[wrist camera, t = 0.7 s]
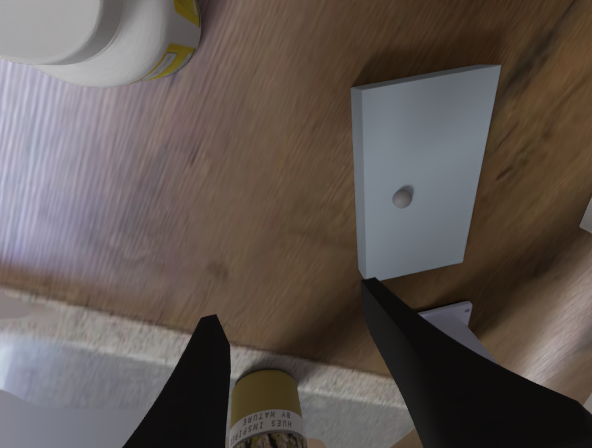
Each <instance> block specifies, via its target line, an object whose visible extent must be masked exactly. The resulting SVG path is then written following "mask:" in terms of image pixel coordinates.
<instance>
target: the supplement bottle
mask: <svg viewBox="0 0 592 448" xmlns="http://www.w3.org/2000/svg"><path fill="white" fill-rule="evenodd" d="M200 35H201V16H200V10H199V5H198V2H197V0H0V59H3V60H7V61H10V62H15V63H21V64H28V65H31V66H32V67H34V68H36V69H38V70H39V71H41V72H43V73H45V74H47V75H49V76H52V77H54V78H56V79H59V80H62V81H65V82H68V83H72V84H75V85H80V86H85V87H94V88H109V87H118V86H124V85H128V84H133V83H138V82H143V81H148V80H152V79H157V78H162V77H166V76H169V75H172V74H174V73H176V72H178V71H179V70H181V69H182V68H183V67H185V66H186V65H187V64H188V63H189V62H190V60H191V59H192V57H193V56H194V54H195V52H196V50H197V47H198V44H199V41H200Z"/></svg>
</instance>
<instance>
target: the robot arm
mask: <svg viewBox="0 0 592 448" xmlns="http://www.w3.org/2000/svg"><path fill="white" fill-rule="evenodd" d="M361 291H362V309H363V316H364V318H365V321H366V323H367V326H368V329H369V331H370V334H371V336H372V338H373V340H374V342H375V344H376V346H377V348H378V350H379V352H380V354H381V355H382V357H383V359H384V361H385V363H386V365H387V367H388V369H389V371H390V373H391V375H392V376H393V378H394V380H395V382H396V384H397V386H398V388H399V390H400V392H401V394H402V396H403V399H404V401H405V403H406V406H407V408H408V411H409V413H410V415H411V418H412V420H413V422H414V425H415V427H416V430H417V432H418V435H419V437H420V440H421V442H422V445H423V447H424V448H592V414H591V413H590V412H589V411H587V410H586V409H585V408H584V407H583V406H582V405H581V404H580V403H579V402H578V401H576V400H574V399H571V398H569V397H567V396H564V395H562V394H560V393H557V392H555V391H553V390H550V389H548V388H546V387H543V386H541V385H539V384H536V383H534V382H532V381H530V380H528V379H526V378H524V377H522V376H520V375H517V374H515V373H513V372H511V371H509V370H507V369H505V368H504V367H502V366H500V365H499V364H498V362H497V361H496V360H495V359H494V358H493V356H492V355H491V354H490V353H489V352H488V351H487V349H486V348H485V347H484V346H483V345H482V343H481V342H480V341H479V340H478V339H477V337H476V336H475V335H474V334H473V333H472V331H471V330H470V329H469V328H468V323H469V318H470V314H471V310H472V304H471V302H470V301H465V302H460V303H456V304H452V305H448V306H444V307H440V308H436V309H432V310H428V311H423V312H419V313H417V312H415V311H414V310H413V309H412V308H410V307H409V306H408V305H407V304H405V303H404V302H403V301H402V300H401V299H399V298H398V297H397V296H396V295H395V294H394V293H393V292H391V291H390V290H389V289H388V288H387V287H386V286H385V285H384V284H383V283H381V282H380V281H379V280H378V279H377V278H376V277H373V278H368V279H364V280H361ZM230 374H231V359H230V344H229V342H228V340H227V338H226V335H225V333H224V331H223V328H222V326H221V324H220V322H219V319H218V317H217V315H216V314H215V315H210V316H206V317H202V318H201V319H200V321H199V323H198V325H197V327H196V329H195V331H194V333H193V335H192V337H191V339H190V341H189V343H188V345H187V347H186V349H185V351H184V353H183V354H182V356H181V358H180V360H179V362H178V364H177V366H176V367H175V369H174V371H173V373H172V374H171V376H170V378H169V379H168V381H167V383H166V384H165V386H164V388H163V389H162V391H161V393H160V394H159V396H158V398H157V399H156V401H155V402H154V404H153V405H152V407H151V408H150V410H149V411H148V413H147V414H146V416H145V417H144V419H143V420H142V422H141V423H140V425H139V426H138V427H137V429H136V430H135V431H134V433H133V434H132V436H131V437H130V438H129V440H128V441H127V442H126V444H125V445H124V446H123V447H122V448H225V438H226V423H227V411H228V399H229V387H230Z"/></svg>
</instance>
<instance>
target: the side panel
mask: <svg viewBox="0 0 592 448" xmlns="http://www.w3.org/2000/svg"><path fill="white" fill-rule="evenodd" d="M579 227H580V228H582V229H584V230H586V231H588V232H590V233H592V197H591V199H590V202H589V204H588V206H587V209H586V211H585V214H584V216H583V218H582V221H581V223H580V225H579Z"/></svg>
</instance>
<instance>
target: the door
mask: <svg viewBox="0 0 592 448" xmlns="http://www.w3.org/2000/svg"><path fill="white" fill-rule="evenodd" d="M500 70H501V65H472V66H466V67H461V68H455V69H450V70H444V71H439V72H433V73H428V74H422V75H417V76H411V77H406V78H400V79H395V80H389V81H384V82H378V83H373V84H367V85H361V86H356V87H351V108H352V132H353V155H354V178H355V202H356V225H357V248H358V269H359V271H360V272H361V274H362V276H363V278H364V279H368V278H373V277H376V278H377V279H378V280H379V281H381V280H385V279H390V278H394V277H399V276H403V275H408V274H412V273H417V272H421V271H425V270H430V269H434V268H439V267H443V266H448V265H452V264H457V263H461V262H463V257H464V252H465V247H466V242H467V237H468V232H469V227H470V222H471V217H472V211H473V206H474V201H475V196H476V191H477V186H478V181H479V176H480V171H481V166H482V161H483V156H484V151H485V146H486V141H487V135H488V130H489V125H490V120H491V115H492V110H493V105H494V100H495V95H496V90H497V85H498V80H499V75H500Z"/></svg>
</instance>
